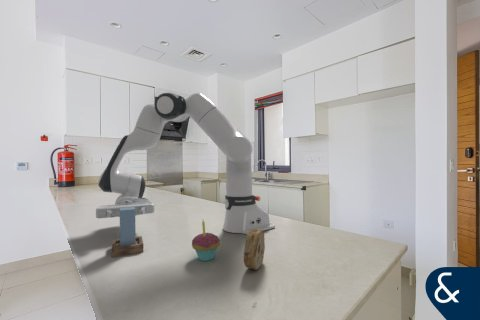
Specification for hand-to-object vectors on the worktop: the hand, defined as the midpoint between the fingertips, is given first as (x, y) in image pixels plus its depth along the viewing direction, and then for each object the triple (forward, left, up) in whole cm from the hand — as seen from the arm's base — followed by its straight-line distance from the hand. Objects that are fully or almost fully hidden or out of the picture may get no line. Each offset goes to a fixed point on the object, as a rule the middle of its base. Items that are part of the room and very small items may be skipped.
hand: (126, 213), depth 85 cm
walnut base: (0, +8, -10) cm, 13 cm away
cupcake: (-21, +26, -10) cm, 35 cm away
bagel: (-31, +38, -10) cm, 51 cm away
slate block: (0, +9, -9) cm, 12 cm away
